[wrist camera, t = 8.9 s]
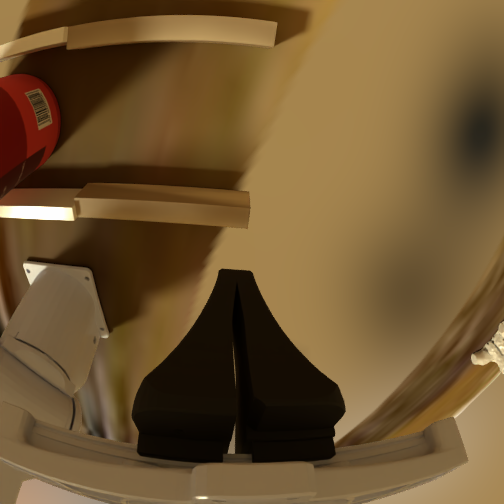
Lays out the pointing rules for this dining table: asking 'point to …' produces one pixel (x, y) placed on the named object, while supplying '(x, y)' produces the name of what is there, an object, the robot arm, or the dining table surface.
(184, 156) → the dining table surface
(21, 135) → the canned food
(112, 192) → the rail channel
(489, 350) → the white creature statuette
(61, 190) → the open frame
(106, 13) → the dining table surface
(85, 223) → the dining table surface
